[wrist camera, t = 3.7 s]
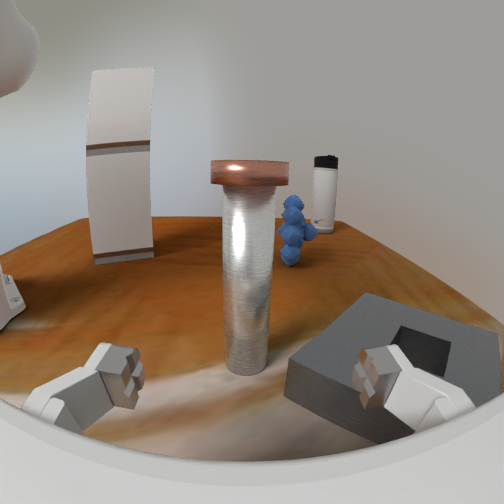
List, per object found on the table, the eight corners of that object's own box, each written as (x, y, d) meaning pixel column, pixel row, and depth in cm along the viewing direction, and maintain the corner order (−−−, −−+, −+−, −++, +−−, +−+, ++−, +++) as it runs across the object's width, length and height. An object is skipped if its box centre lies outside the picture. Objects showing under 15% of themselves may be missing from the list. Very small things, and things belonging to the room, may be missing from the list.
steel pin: (204, 360, 23) (195, 161, 17) (245, 338, 26) (249, 161, 21) (246, 391, 19) (251, 159, 14) (287, 361, 23) (304, 163, 18)
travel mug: (315, 234, 67) (320, 154, 61) (306, 228, 74) (310, 154, 68) (337, 234, 69) (343, 156, 62) (327, 228, 75) (331, 156, 69)
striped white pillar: (148, 242, 57) (148, 84, 46) (154, 257, 48) (154, 67, 37) (99, 248, 52) (97, 87, 41) (95, 265, 43) (92, 71, 32)
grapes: (316, 281, 40) (324, 200, 36) (271, 277, 41) (275, 196, 37) (313, 256, 51) (319, 192, 47) (278, 253, 52) (281, 190, 48)
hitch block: (283, 395, 19) (289, 357, 17) (358, 323, 28) (365, 291, 27) (464, 473, 8) (497, 439, 7) (482, 365, 18) (497, 333, 17)
